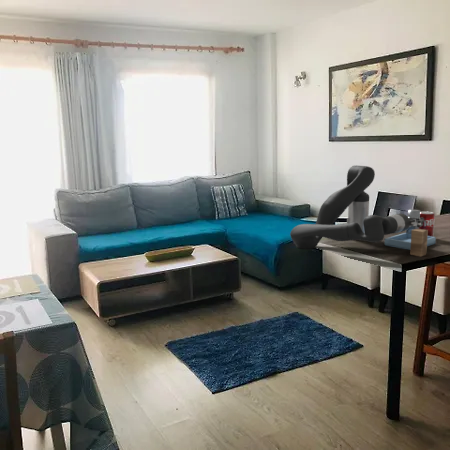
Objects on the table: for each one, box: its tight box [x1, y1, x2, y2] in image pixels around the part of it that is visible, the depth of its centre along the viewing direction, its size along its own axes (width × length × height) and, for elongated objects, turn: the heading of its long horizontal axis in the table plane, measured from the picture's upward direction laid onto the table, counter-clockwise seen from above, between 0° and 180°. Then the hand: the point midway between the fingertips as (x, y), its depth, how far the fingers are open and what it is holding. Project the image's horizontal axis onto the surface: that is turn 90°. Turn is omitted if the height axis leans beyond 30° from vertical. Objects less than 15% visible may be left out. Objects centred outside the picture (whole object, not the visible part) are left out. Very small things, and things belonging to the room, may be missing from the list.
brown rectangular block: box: [409, 229, 428, 257], centre depth 201 cm, size 4×4×10 cm
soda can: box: [419, 210, 436, 237], centre depth 230 cm, size 7×7×12 cm
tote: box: [384, 232, 437, 251], centre depth 219 cm, size 18×14×3 cm
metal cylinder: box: [405, 209, 421, 234], centre depth 215 cm, size 5×5×10 cm
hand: (416, 218), depth 217 cm, fingers closed on metal cylinder, 5 cm apart
